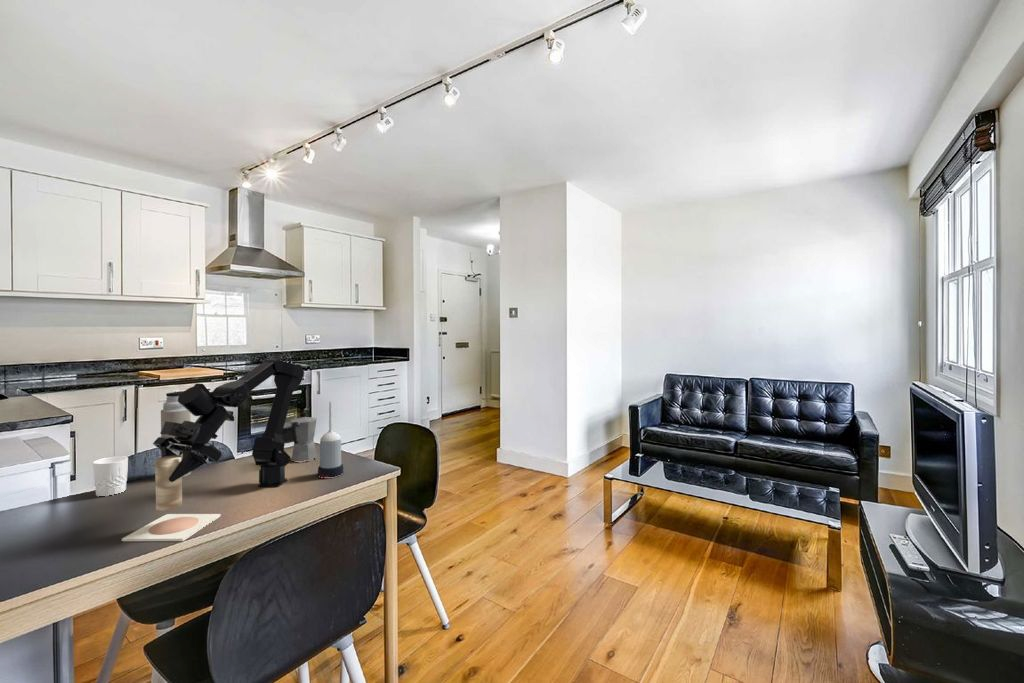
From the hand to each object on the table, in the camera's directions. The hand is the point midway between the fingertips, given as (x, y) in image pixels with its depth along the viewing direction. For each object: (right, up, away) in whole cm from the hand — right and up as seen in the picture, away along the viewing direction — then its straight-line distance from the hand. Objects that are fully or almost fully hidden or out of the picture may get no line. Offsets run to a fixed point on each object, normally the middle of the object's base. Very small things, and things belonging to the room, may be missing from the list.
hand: (162, 479), depth 110 cm
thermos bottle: (-27, -11, +41) cm, 51 cm away
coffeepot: (+7, -11, +59) cm, 61 cm away
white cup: (-35, -12, +25) cm, 44 cm away
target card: (+2, -12, +1) cm, 13 cm away
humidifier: (+24, -12, +43) cm, 50 cm away
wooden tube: (0, -7, +1) cm, 7 cm away
